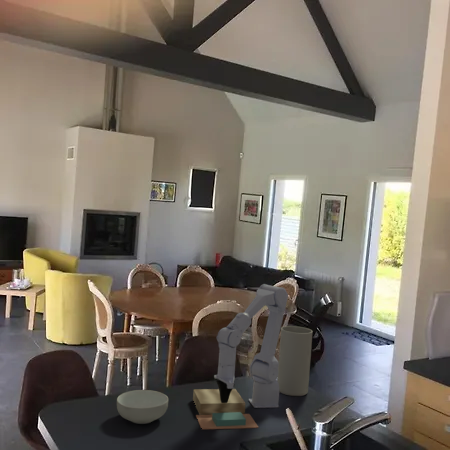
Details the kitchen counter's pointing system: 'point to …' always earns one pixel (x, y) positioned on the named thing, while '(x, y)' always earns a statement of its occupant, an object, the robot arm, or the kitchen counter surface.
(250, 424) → the terracotta mat
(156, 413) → the cereal bowl
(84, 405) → the kitchen counter surface
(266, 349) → the robot arm
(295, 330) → the cylinder vase
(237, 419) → the teal rectangular block
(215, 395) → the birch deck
